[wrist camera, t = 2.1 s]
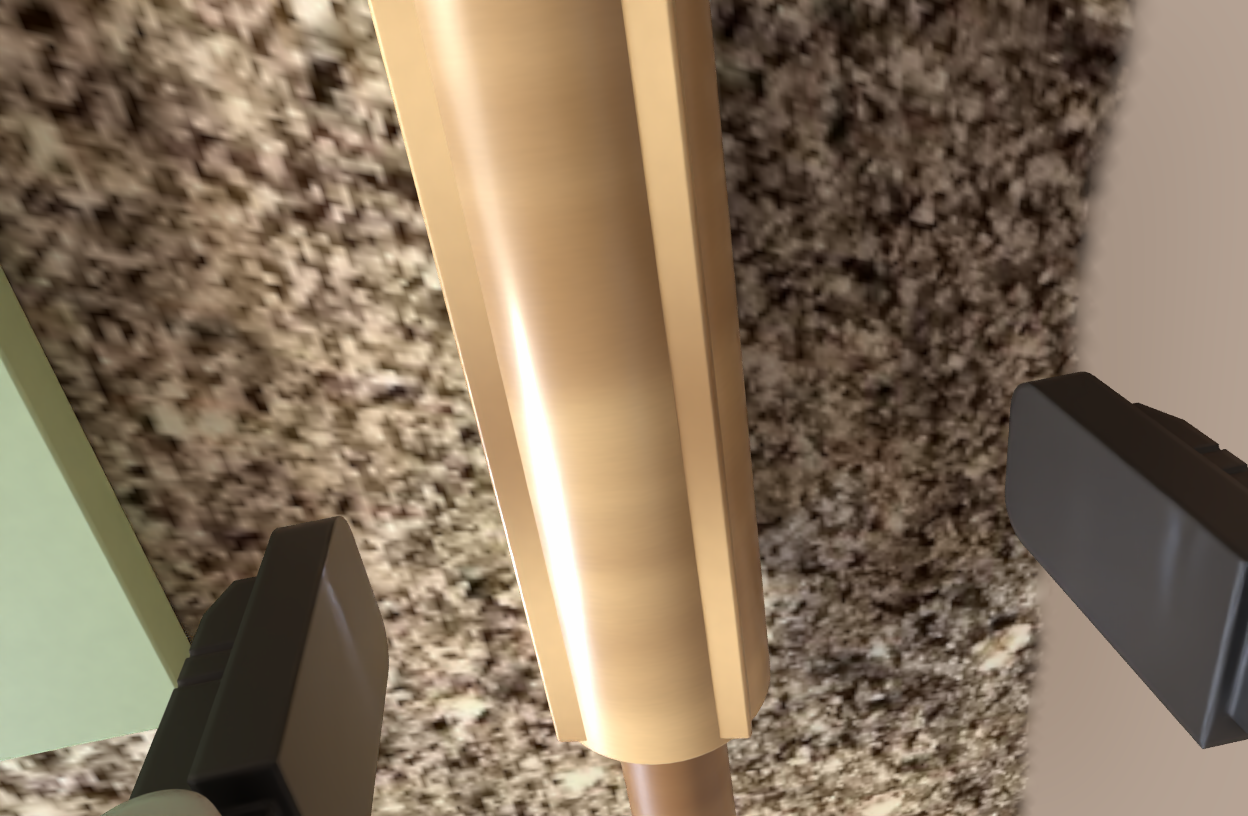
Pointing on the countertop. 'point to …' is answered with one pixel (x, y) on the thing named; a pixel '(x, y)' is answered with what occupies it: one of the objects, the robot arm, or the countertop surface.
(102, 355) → the countertop surface
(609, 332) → the rolling pin
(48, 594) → the pastry board
